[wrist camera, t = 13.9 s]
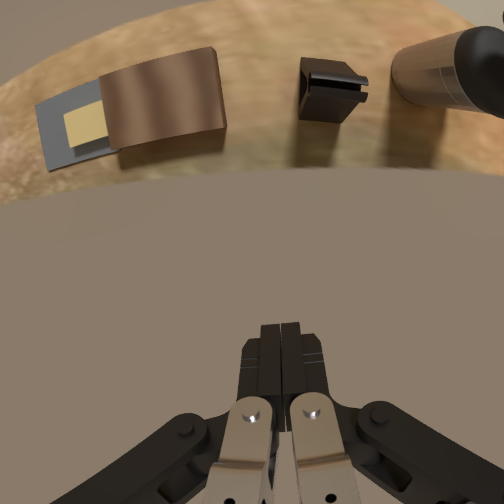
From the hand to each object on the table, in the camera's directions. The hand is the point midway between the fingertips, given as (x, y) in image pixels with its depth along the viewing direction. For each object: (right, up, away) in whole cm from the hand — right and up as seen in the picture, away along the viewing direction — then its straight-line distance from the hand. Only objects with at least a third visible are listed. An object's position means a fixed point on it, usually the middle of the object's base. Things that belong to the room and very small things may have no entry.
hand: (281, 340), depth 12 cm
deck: (-13, +25, +28) cm, 39 cm away
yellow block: (-25, +23, +29) cm, 45 cm away
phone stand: (+8, +25, +26) cm, 38 cm away
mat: (-29, +23, +29) cm, 47 cm away
